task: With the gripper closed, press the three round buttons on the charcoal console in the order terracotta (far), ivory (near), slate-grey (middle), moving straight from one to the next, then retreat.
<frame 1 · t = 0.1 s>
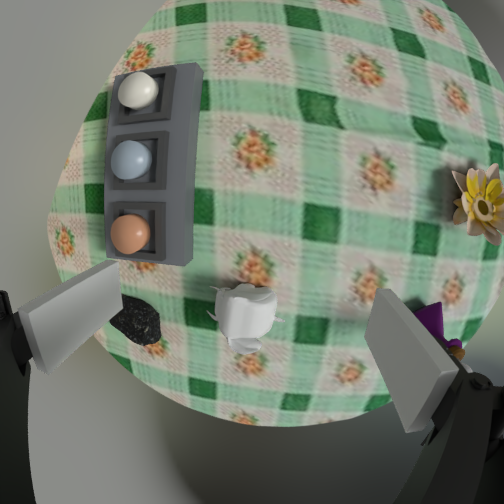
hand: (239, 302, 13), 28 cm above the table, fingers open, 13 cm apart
perfume bottle: (417, 318, 41), on the table
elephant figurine: (247, 299, 43), on the table
terracotta button: (130, 233, 35), point 7 cm above the table, slide at 0.0 cm
decorative flower: (474, 198, 35), on the table
console: (154, 162, 39), on the table
ivory button: (138, 91, 29), point 7 cm above the table, slide at 0.0 cm
slate button: (131, 160, 32), point 7 cm above the table, slide at 0.0 cm
rock: (139, 315, 47), on the table
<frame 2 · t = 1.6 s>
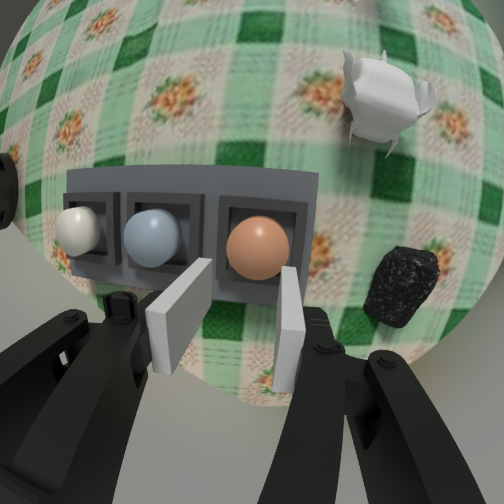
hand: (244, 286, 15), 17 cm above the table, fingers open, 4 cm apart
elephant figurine: (367, 108, 26), on the table
terracotta button: (258, 246, 24), point 7 cm above the table, slide at 0.0 cm
console: (179, 225, 31), on the table
ivory button: (77, 230, 25), point 7 cm above the table, slide at 0.0 cm
slate button: (152, 237, 25), point 7 cm above the table, slide at 0.0 cm
rock: (396, 281, 31), on the table
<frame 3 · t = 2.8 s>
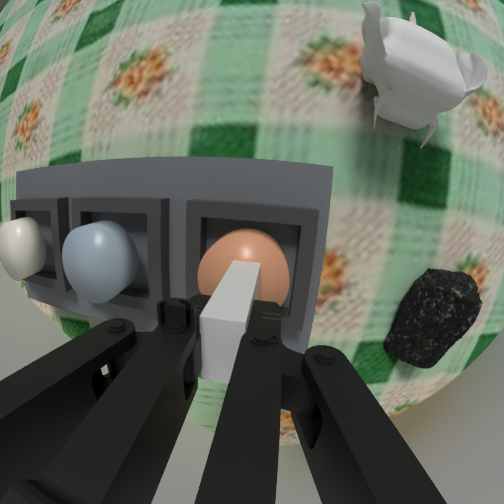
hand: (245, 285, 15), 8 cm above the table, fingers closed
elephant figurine: (391, 84, 18), on the table
terracotta button: (245, 274, 16), point 6 cm above the table, slide at 0.8 cm, touching gripper
console: (144, 238, 23), on the table
ivory button: (20, 248, 17), point 7 cm above the table, slide at 0.0 cm
slate button: (98, 260, 16), point 7 cm above the table, slide at 0.0 cm
rock: (424, 310, 23), on the table
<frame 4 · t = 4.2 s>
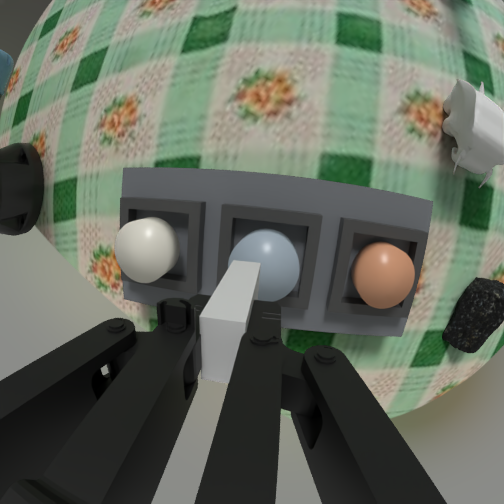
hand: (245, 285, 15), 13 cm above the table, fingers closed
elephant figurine: (459, 134, 22), on the table
terracotta button: (382, 274, 21), point 6 cm above the table, slide at 1.2 cm
console: (270, 245, 28), on the table
ivory button: (146, 249, 22), point 7 cm above the table, slide at 0.0 cm
slate button: (264, 264, 21), point 7 cm above the table, slide at 0.0 cm
rock: (470, 309, 27), on the table
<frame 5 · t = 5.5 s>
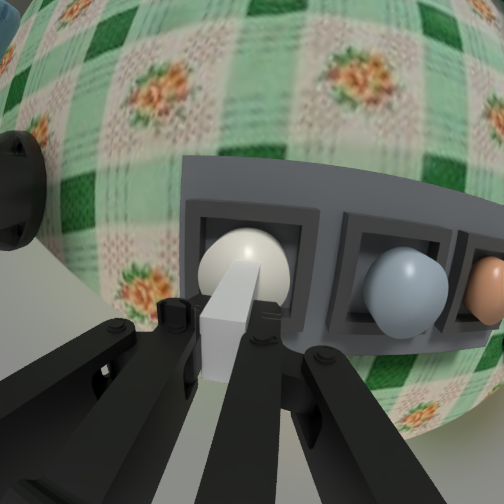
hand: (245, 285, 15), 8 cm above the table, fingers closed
terracotta button: (491, 290, 15), point 6 cm above the table, slide at 1.2 cm
console: (371, 259, 22), on the table
ivory button: (245, 273, 16), point 6 cm above the table, slide at 1.0 cm, touching gripper
slate button: (405, 292, 15), point 7 cm above the table, slide at 0.0 cm
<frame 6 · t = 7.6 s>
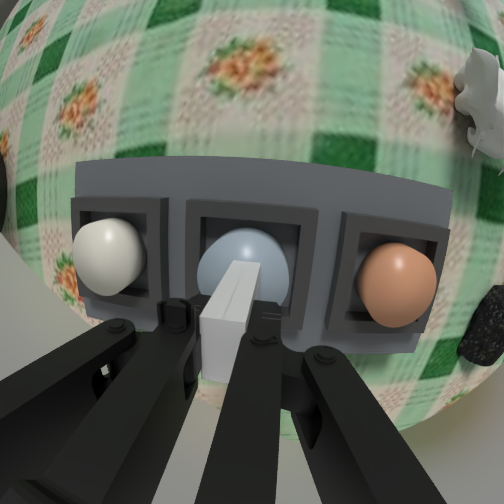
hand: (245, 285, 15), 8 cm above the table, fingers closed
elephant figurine: (472, 114, 17), on the table
terracotta button: (396, 284, 16), point 6 cm above the table, slide at 1.2 cm
console: (254, 248, 23), on the table
ivory button: (108, 255, 17), point 6 cm above the table, slide at 1.3 cm
slate button: (244, 273, 16), point 6 cm above the table, slide at 0.8 cm, touching gripper
rock: (486, 318, 22), on the table
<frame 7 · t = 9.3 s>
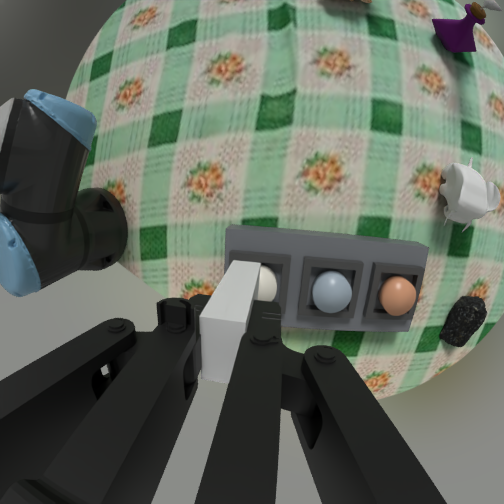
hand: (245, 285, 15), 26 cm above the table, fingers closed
perfume bottle: (447, 41, 27), on the table
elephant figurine: (451, 192, 35), on the table
terracotta button: (397, 295, 34), point 6 cm above the table, slide at 1.2 cm
console: (325, 277, 41), on the table
ivory button: (257, 285, 36), point 6 cm above the table, slide at 1.3 cm
slate button: (331, 291, 35), point 6 cm above the table, slide at 1.3 cm
rock: (458, 316, 40), on the table
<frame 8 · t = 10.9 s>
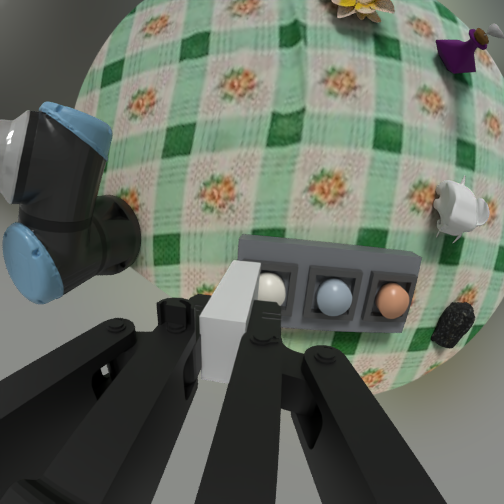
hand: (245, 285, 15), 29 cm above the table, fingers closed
perfume bottle: (448, 61, 31), on the table
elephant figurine: (444, 206, 39), on the table
terracotta button: (392, 300, 38), point 6 cm above the table, slide at 1.2 cm
decorative flower: (351, 0, 31), on the table
console: (327, 283, 45), on the table
ivory button: (267, 291, 40), point 6 cm above the table, slide at 1.3 cm
slate button: (333, 297, 39), point 6 cm above the table, slide at 1.3 cm
rock: (449, 320, 45), on the table
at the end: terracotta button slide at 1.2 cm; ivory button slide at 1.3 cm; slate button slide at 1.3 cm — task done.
